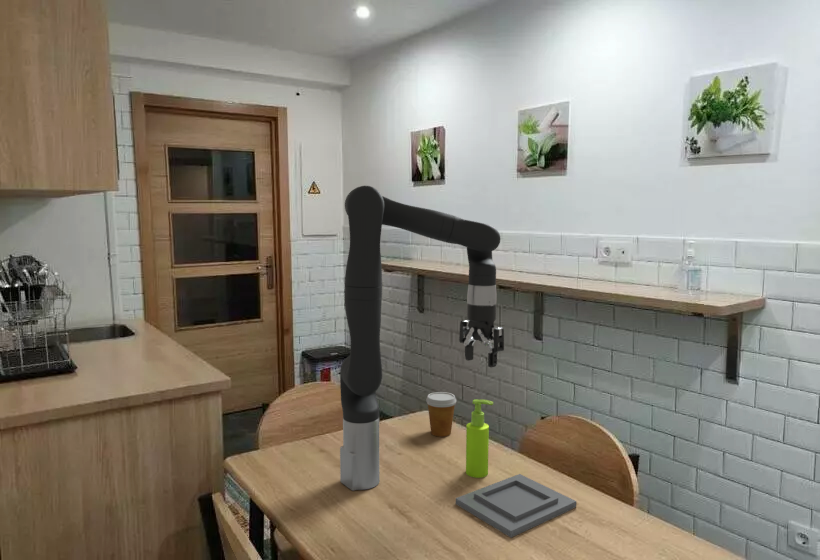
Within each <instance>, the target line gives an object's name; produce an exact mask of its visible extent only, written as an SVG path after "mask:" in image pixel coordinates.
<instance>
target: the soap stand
mask: <svg viewBox="0 0 820 560" xmlns="http://www.w3.org/2000/svg"><path fill="white" fill-rule="evenodd" d="M455 505H456V506H458V507H460V508H461V509H463V510H464V511H466V512H468V513H470V514H471V515H472V516H474V517H476V518H478V519H480V520H481V521H483V522H484V523H486V524H488V525H489V526H491V527H492V528H494V529H496V530H497V531H499V532H501V533H502V534H504V535H506V536H507V537H509V538H513V537H516V536H518V535H520V534H522V533H524V532H526V531H529V530H531V529H533V528H535V527H537V526H539V525H541V524H544V523H545V522H548V521H550V520H552V519H555V518H556V517H558V516H561V515H562V514H565V513H567V512H569V511H571V509H572V510H573V508H574V509H575V507H576V508H577V500H575V499H573V498H570V497H568V496H567V495H564V494H562V493H560V492H558V491H556V490H554V489H553V488H551V487H548V486H545V485H544V484H541V483H539V482H537V481H536V480H534V479H532V478H529V477H527V476H525V475H523V474H521V473H519V474H516V475H514V476H510V477H508V478H505V479H502V480H499V481H497V482H495V483H492V484H490V485H487V486H484V487H481V488H479V489H476V490H473V491H470V492H469V493H466V494H463V495H460V496H458V497H456V498H455Z"/></svg>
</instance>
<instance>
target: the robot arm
mask: <svg viewBox="0 0 820 560" xmlns="http://www.w3.org/2000/svg"><path fill="white" fill-rule="evenodd" d="M344 210H345V213H346V215H347V217H348V226H349V227H348V228H349V229H348V230H349V247H348V253H347V254H348V255H347V261H346V266H345V272H344V273H345V274H344V309H345V316H346V321H347V326H348V330H349V331H348V332H349V338H350V350H349V351H350V353H349V355H348V356H347V357H345V359H344V361H343V362H342V364H341V367H340V371H339V373H340V374H339V375H340V376H339V379H340V381H339V382H340V385H339V386H340V404H341V409H342V441H343V443H342V444H343V445H342V446H340V447H339V463H340V464H339V465H340V466H339V468H340V470H339V471H340V472H339V474H340V476H339V477H340V478H339V479H340V483H341V484H342V485H344V486H345V487H346V488H348V489H350V490H351V491H357V490H358V491H361V490H363V491H364V490H369V489H372V488H374V487H377V486H378V485H379V484H380V482H381V481H380V475H381V474H380V407H379V403H378V399H377V391H378V390H379V388H380V386H381V384H382V380H383V368H382V355H381V342H380V341H381V340H380V339H381V323H382V303H383V302H382V300H383V270H382V255H381V254H382V253H381V237H382V227H383V226H389V227H394V228H397V229H402V230H405V231H407V232H411V233H414V234H416V235H419V236H423V237H426V238H429V239H433V240H436V241H439V242H443V243H446V244H447V243H448V244H452V245H458V246H462V247H465V248H466V253H467V261H468V286H467V293H466V294H467V298H466V299H467V300H466V301H467V302H466V320H461V321H460V322H459V338H458V341H459V343H462V344H463V346H464V357H465V360H466V361H472V360H474V344H475V342H476V341H479V342H481V343H483V345H484V346H485V347H486V348H487V351H488V352H487V353H488V355H487V367H489V368H495V367H497V364H498V353H499V352H504V351H505V333H504V331H505V330H504V328H503V327H495V324H494V323H495V321H496V320H497V302H498V301H497V298H498V297H497V296H498V295H497V293H498V291H497V267H496V264H495V263H494V261H493V251H495V250H497V248H499V246H500V244H501V234H500V232H499V230H498V229H497V228H496V227H494V226H493V225H490V224H488V223H482V222H480V221H479V222H478V221H474V220H469V219H463V218H461V217H459V216H456V215H453V214H449V213H445V212H443V211H439V210H434V209H430V208H424V207H418V206H414V205H411V204H410V205H408V204H406V203H401V202H399V201H396V200H392V199H390V198H388V197H386V196H383V195H382V193H380V191H379V190H378V189H377V188H375V187H373V186H370V185H361V186H358V187H356V188H355V187H354V189H352V190H351V191H350V192H349V193H348V194H347V196H346V197H345V199H344Z"/></svg>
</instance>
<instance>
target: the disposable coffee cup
mask: <svg viewBox="0 0 820 560" xmlns="http://www.w3.org/2000/svg"><path fill="white" fill-rule="evenodd" d="M425 401H426V404H427V409H428V418H429V427H430V434H431V435H433V436H434V437H439V438H442V437H448V436H450V435H451V434H452V426H453V423H454V422H453V419H454V416H455V415H454V413H455V407H456V404H457V398H456V396H455V394H453V393H451V392H446V391H436V392H431V393H429V394H427V397H426V399H425Z"/></svg>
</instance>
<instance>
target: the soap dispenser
mask: <svg viewBox="0 0 820 560" xmlns="http://www.w3.org/2000/svg"><path fill="white" fill-rule="evenodd" d="M472 405H474V410H473V411H471V415H470V416H471V417H470V419H471V421H470V422H468V423H466V426H465V429H466V435H465V437H466V438H465V441H466V442H465V443H466V444H465V446H466V448H465V474H466V475H467V476H468V477H471V478H477V479H478V478H479V479H480V478H481V479H483V478H485V477H487V476H488V474H489V439H490V437H489V436H490V435H489V433H490V432H489V431H490V425H489V424H488V423H485V412H483V410H482V405H488V406H493V405H494V401H491V400H489V399H479V398H478V399H477V398H476V399H473V400H472Z"/></svg>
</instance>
